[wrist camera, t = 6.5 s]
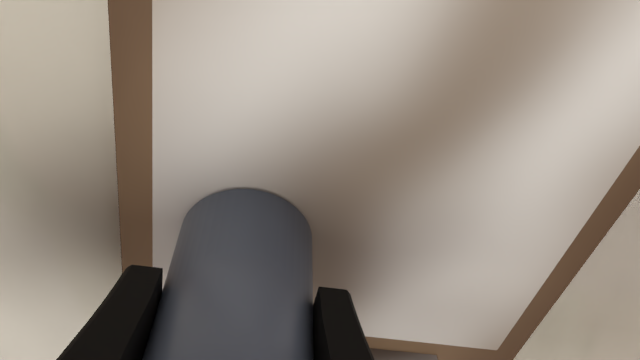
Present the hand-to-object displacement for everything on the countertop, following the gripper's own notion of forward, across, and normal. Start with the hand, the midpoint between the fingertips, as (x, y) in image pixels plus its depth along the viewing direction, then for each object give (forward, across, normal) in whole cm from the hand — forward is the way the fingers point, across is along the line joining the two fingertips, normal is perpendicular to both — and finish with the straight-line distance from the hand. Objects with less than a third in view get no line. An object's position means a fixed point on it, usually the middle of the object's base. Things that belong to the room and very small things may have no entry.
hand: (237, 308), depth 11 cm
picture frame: (+3, -3, -2) cm, 4 cm away
